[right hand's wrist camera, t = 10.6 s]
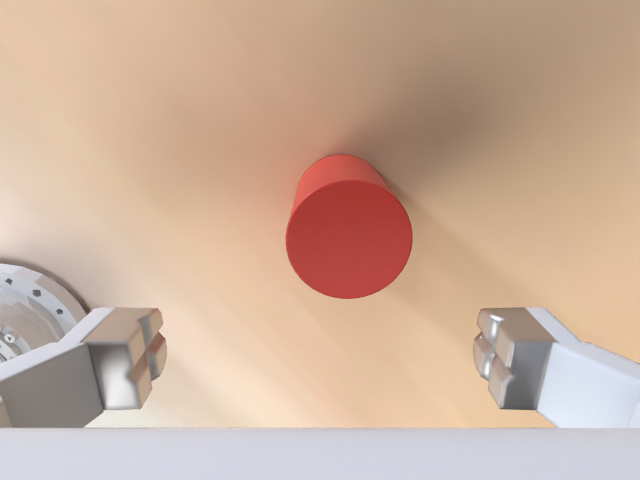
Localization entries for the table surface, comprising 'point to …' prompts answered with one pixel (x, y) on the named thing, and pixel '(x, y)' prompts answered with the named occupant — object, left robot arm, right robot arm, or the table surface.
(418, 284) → the table surface
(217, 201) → the table surface
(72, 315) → the mechanical component
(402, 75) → the table surface
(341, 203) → the can
